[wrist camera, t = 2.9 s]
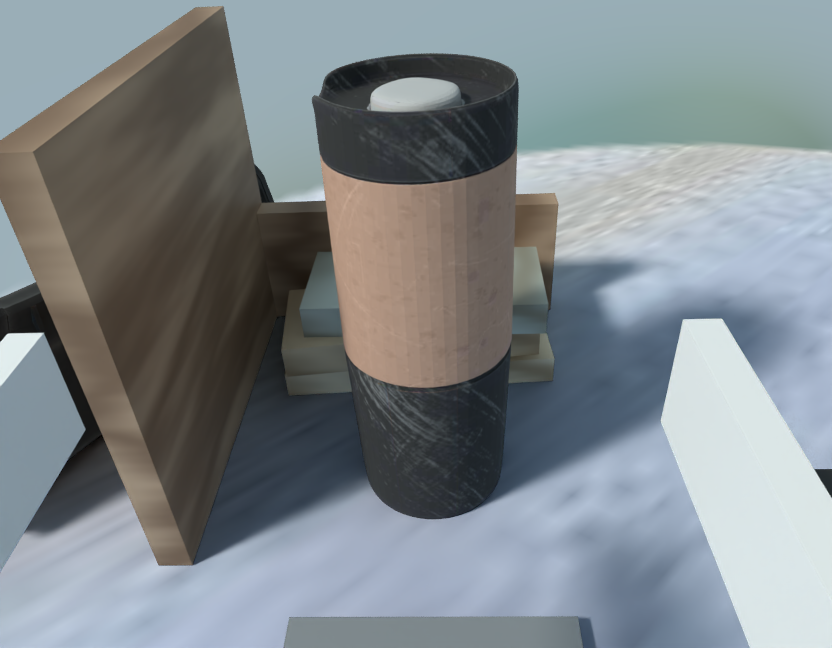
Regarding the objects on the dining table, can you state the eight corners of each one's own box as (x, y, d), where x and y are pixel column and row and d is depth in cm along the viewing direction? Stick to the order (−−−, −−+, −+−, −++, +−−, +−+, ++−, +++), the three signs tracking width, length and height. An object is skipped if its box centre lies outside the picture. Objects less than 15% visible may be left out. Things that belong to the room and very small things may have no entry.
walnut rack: (547, 296, 49) (569, -11, 37) (610, 562, 31) (690, 126, 19) (259, 304, 50) (195, 7, 38) (158, 565, 32) (-20, 153, 20)
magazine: (253, 136, 53) (-173, 172, 27) (290, 139, 52) (-114, 181, 26) (258, 341, 59) (-89, 542, 32) (292, 347, 58) (-38, 560, 31)
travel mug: (537, 467, 36) (567, 74, 24) (427, 552, 32) (401, 131, 20) (438, 397, 41) (424, 42, 29) (332, 463, 37) (268, 83, 25)
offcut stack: (532, 315, 48) (536, 239, 44) (553, 387, 41) (560, 304, 38) (300, 329, 48) (286, 253, 44) (286, 402, 41) (269, 321, 38)
